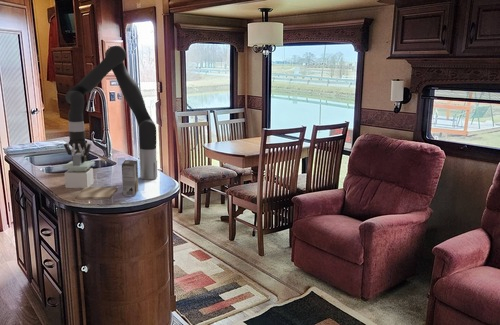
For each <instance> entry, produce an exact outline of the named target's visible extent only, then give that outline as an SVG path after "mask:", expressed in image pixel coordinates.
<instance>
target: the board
mask: <svg viewBox="0 0 500 325" xmlns="http://www.w3.org/2000/svg"><path fill="white" fill-rule="evenodd" d="M117 190H118V187H102V186H101V187H98V186H97V187H94V186H93V187H91V186H89V187H85V188H82V189H81V190H80V192H79V193H78V194H75V196H74V199H75V200H76V199H78V200H79V199H80V200H82V199H83V200H86V199H87V200H110V199H111V198H112V196H114V194H115V193H116V192H117Z"/></svg>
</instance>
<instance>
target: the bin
mask: <svg viewBox="0 0 500 325" xmlns="http://www.w3.org/2000/svg"><path fill="white" fill-rule="evenodd" d="M94 180H95V179H94V168H93V167H89V168H88V169H87V170H86V171H75V170H68V169H67V171H65V172H64V182H65V183H64V184H65V189H84V188H85V187H91V186H92V185H93V184H94V183H95V182H94Z"/></svg>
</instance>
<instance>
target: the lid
mask: <svg viewBox="0 0 500 325" xmlns="http://www.w3.org/2000/svg"><path fill="white" fill-rule="evenodd" d="M81 156H82V155H81V153H77V154H75V155H73V156H72V155H71V158H72V157H73V161H72V160H70V161H69V162H68V163H66V164H64V165H63V167H62V168H63V169H67V171H68V170H75V171H86V170H87V169H88V168H91V166H93V165H94V164H95V161H94V160H93V161H91V160H90V161H89V160H88V161H85V162H84V163H82V159H81Z"/></svg>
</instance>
